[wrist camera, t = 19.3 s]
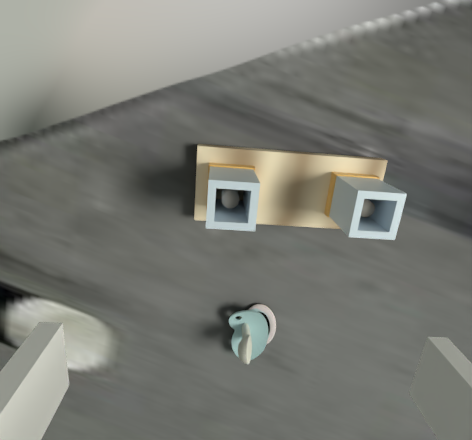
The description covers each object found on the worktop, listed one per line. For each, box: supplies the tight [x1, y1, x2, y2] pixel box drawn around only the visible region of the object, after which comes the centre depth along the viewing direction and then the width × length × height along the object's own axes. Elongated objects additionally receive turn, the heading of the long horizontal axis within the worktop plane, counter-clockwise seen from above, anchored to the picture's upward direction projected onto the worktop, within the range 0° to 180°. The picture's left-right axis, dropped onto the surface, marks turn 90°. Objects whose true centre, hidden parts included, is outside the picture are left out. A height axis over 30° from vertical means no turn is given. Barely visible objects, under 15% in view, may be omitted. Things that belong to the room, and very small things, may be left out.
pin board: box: [194, 144, 387, 229], centre depth 35 cm, size 20×8×6 cm, turn 85°
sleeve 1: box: [206, 163, 260, 231], centre depth 33 cm, size 5×5×7 cm
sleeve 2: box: [324, 172, 407, 240], centre depth 34 cm, size 5×5×7 cm
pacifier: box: [229, 304, 276, 364], centre depth 41 cm, size 7×6×6 cm
